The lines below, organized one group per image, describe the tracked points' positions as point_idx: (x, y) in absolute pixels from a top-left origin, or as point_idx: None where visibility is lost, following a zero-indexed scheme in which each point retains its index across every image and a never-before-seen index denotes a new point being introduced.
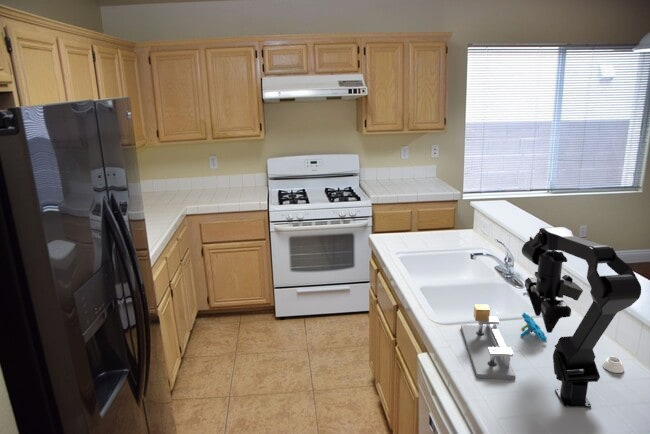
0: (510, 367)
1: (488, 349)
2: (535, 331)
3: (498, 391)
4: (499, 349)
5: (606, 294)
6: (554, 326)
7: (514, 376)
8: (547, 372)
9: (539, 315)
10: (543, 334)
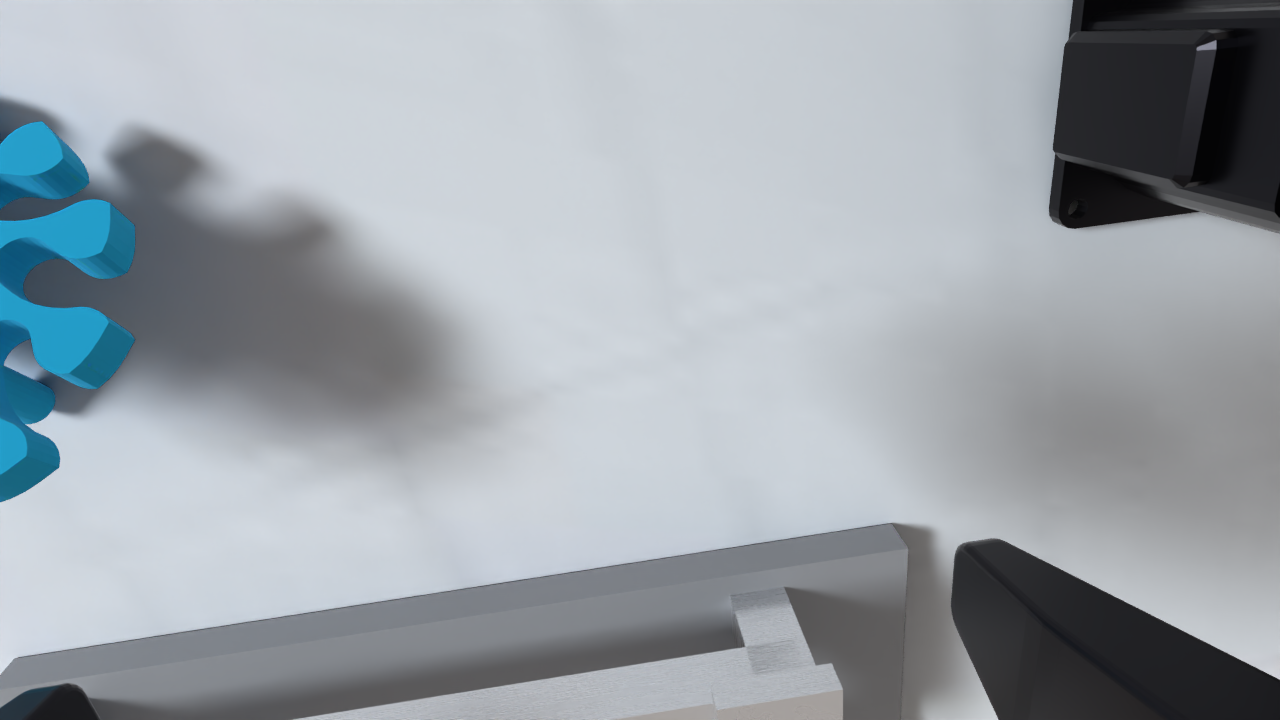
0: (787, 578)
1: None
2: (91, 369)
3: None
4: None
5: None
6: (1255, 676)
7: (902, 548)
8: (755, 233)
9: (72, 696)
10: None
